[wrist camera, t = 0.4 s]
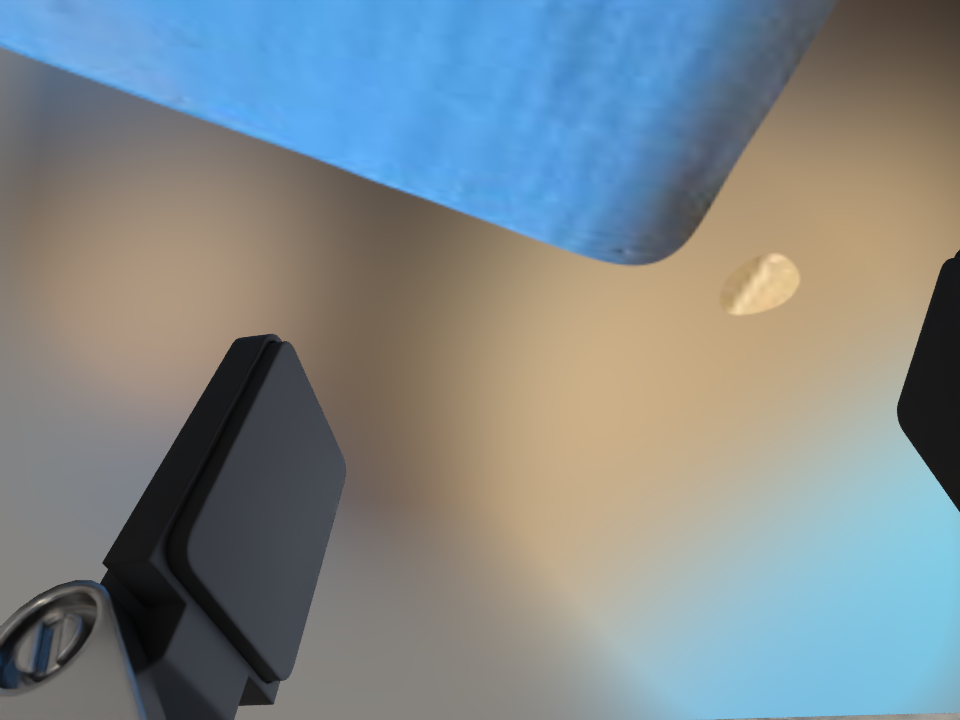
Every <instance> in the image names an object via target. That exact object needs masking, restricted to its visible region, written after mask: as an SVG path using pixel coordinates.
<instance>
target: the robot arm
mask: <svg viewBox="0 0 960 720" xmlns="http://www.w3.org/2000/svg"><path fill="white" fill-rule="evenodd" d="M897 416H898V421H899V424H900V426H901V428H902V430H903V432H904V433H905V434H906V436H907V437H908V439H909V440H910V442H911V443H912V444H913V446H914V447H915V449H916V450H917V452H918V453H919V454H920V456H921V457H922V459H923V460H924V462H925V463H926V465H927V466H928V467H929V469H930V470H931V472H932V473H933V474H934V476H935V477H936V479H937V480H938V481H939V483H940V485H941V486H942V487H943V489H944V490H945V492H946V493H947V494H948V496H949V497H950V499H951V500H952V502H953V503H954V504H955V506H956V507H957V509H958V510H959V512H960V250H959V251H958V252H957V253H956V255H955V257H954V258H951V259H948V260H947V261H946V262H945V263H944V264H943V266H942V268H941V270H940V273H939V276H938V279H937V282H936V286H935V289H934V292H933V295H932V298H931V301H930V305H929V308H928V311H927V314H926V317H925V320H924V323H923V326H922V330H921V333H920V336H919V339H918V342H917V345H916V348H915V352H914V355H913V358H912V361H911V364H910V367H909V370H908V374H907V377H906V380H905V383H904V386H903V389H902V392H901V395H900V398H899V402H898V406H897ZM345 477H346V466H345V460H344V458H343V455H342V453H341V451H340V448H339V446H338V444H337V442H336V440H335V438H334V435H333V433H332V431H331V429H330V426H329V424H328V422H327V420H326V418H325V415H324V413H323V411H322V409H321V407H320V404H319V402H318V400H317V398H316V396H315V394H314V391H313V389H312V387H311V385H310V383H309V380H308V378H307V376H306V374H305V371H304V369H303V367H302V365H301V363H300V360H299V358H298V356H297V354H296V352H295V349H294V348H293V346H292V345H291V344H290V343H289V342H287V341H284V342H282V341H281V339H280V338H279V337H278V336H277V335H274V334H267V335H258V336H251V337H243V338H238V339H236V340H235V341H234V342H233V344H232V345H231V347H230V349H229V350H228V352H227V354H226V355H225V357H224V359H223V361H222V362H221V364H220V365H219V367H218V369H217V371H216V372H215V374H214V376H213V377H212V379H211V381H210V382H209V384H208V386H207V387H206V389H205V391H204V393H203V394H202V396H201V398H200V399H199V401H198V403H197V404H196V406H195V408H194V409H193V411H192V413H191V414H190V416H189V418H188V419H187V421H186V423H185V425H184V426H183V428H182V429H181V431H180V433H179V435H178V436H177V438H176V440H175V441H174V443H173V445H172V446H171V448H170V450H169V451H168V453H167V455H166V456H165V458H164V460H163V462H162V463H161V465H160V467H159V468H158V470H157V472H156V473H155V475H154V477H153V479H152V480H151V482H150V483H149V485H148V487H147V488H146V490H145V492H144V493H143V495H142V497H141V499H140V500H139V502H138V504H137V505H136V507H135V509H134V510H133V512H132V514H131V516H130V517H129V519H128V520H127V522H126V524H125V526H124V527H123V529H122V531H121V532H120V534H119V536H118V538H117V539H116V541H115V542H114V544H113V546H112V547H111V549H110V551H109V552H108V554H107V556H106V558H105V559H104V561H103V564H104V565H105V566H106V567H107V568H108V571H107V573H106V574H105V576H104V577H103V579H102V581H101V583H100V584H98V583H96V582H94V581H91V580H75V581H72V582H68V583H64V584H61V585H57V586H55V587H53V588H51V589H49V590H47V591H45V592H43V593H41V594H39V595H37V596H36V597H35V598H33V599H32V600H30V601H29V602H28V603H26V604H25V605H23V606H22V607H20V608H19V609H18V610H17V611H16V612H15V613H14V614H13V615H12V616H11V617H10V618H9V619H8V620H6V621H5V623H3V625H1V626H0V720H234V718H235V714H236V712H237V708H238V706H243V705H244V706H245V705H272V704H274V701H275V697H276V694H277V691H278V687H279V683H280V681H283V680H286V679H287V678H288V677H289V676H290V674H291V672H292V670H293V667H294V664H295V660H296V656H297V653H298V649H299V645H300V642H301V638H302V634H303V631H304V627H305V623H306V620H307V616H308V612H309V609H310V605H311V602H312V598H313V594H314V591H315V587H316V584H317V580H318V576H319V573H320V569H321V565H322V562H323V558H324V554H325V551H326V547H327V543H328V540H329V536H330V532H331V529H332V526H333V522H334V518H335V515H336V511H337V507H338V504H339V500H340V496H341V493H342V489H343V485H344V481H345ZM719 720H960V713H940V714H938V713H937V714H936V713H935V714H896V715H858V716H857V715H856V716H821V717H787V718H753V719H719Z"/></svg>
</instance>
